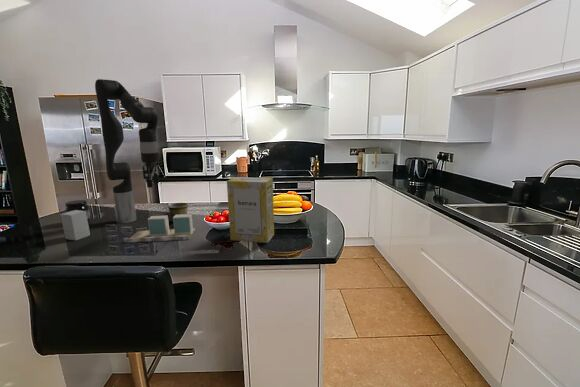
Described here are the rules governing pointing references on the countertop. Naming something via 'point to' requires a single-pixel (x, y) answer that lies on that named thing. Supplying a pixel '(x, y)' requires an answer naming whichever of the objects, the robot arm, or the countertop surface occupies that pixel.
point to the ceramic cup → (178, 209)
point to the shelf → (145, 237)
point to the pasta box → (251, 209)
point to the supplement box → (75, 225)
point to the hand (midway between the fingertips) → (153, 185)
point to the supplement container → (78, 207)
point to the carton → (158, 226)
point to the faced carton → (183, 224)
